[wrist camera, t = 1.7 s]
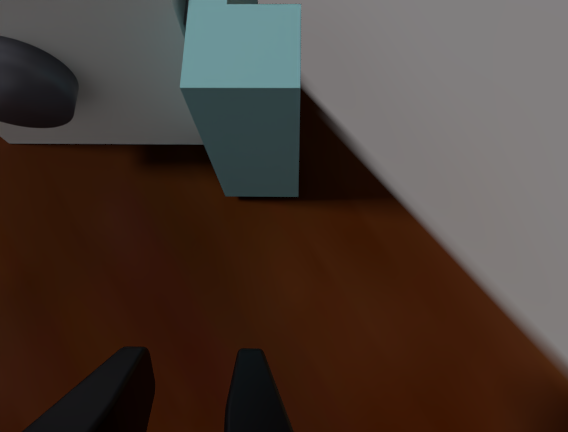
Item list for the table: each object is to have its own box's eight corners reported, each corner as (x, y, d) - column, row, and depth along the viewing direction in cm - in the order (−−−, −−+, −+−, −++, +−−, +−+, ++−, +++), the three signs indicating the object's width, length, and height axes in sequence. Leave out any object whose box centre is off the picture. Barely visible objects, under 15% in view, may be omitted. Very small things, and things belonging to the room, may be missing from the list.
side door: (298, 196, 22) (300, 87, 13) (225, 196, 22) (179, 87, 13) (300, 10, 25) (302, -174, 16) (237, 10, 25) (206, -173, 16)
